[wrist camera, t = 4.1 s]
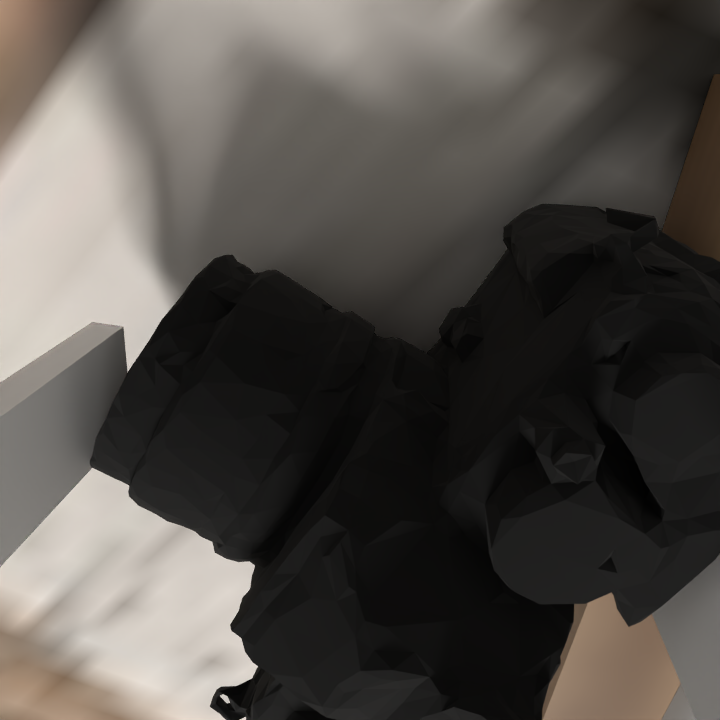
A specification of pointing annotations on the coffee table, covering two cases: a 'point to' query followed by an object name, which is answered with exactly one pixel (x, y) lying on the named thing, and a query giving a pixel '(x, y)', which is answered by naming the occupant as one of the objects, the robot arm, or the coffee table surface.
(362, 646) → the film camera
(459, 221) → the coffee table surface
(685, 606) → the robot arm
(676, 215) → the wooden pallet
